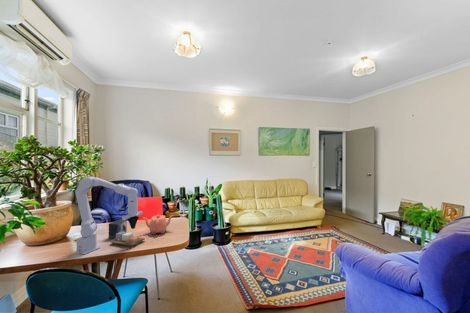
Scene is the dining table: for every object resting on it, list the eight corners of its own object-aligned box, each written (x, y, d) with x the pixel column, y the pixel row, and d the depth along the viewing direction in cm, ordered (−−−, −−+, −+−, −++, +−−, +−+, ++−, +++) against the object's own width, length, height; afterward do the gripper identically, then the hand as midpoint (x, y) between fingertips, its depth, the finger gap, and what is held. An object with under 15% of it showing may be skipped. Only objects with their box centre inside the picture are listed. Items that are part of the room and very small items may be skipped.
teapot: (142, 233, 152) (142, 216, 152) (161, 227, 166) (161, 211, 166) (155, 237, 144) (155, 219, 144) (174, 230, 158) (174, 213, 158)
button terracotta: (133, 245, 131) (133, 239, 131) (128, 244, 132) (128, 238, 132) (139, 242, 135) (139, 237, 135) (134, 241, 136) (134, 236, 136)
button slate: (120, 239, 135) (120, 234, 135) (115, 239, 136) (115, 233, 136) (126, 237, 139) (126, 232, 139) (121, 236, 140) (121, 231, 140)
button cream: (127, 241, 133) (127, 235, 133) (122, 240, 134) (121, 234, 134) (132, 238, 137) (132, 233, 137) (127, 237, 138) (127, 232, 138)
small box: (116, 239, 142) (116, 224, 142) (108, 238, 144) (107, 223, 144) (127, 233, 153) (127, 219, 153) (119, 233, 154) (119, 219, 154)
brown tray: (130, 248, 127) (130, 244, 127) (109, 244, 134) (109, 241, 134) (144, 241, 137) (144, 238, 137) (124, 238, 144) (124, 234, 144)
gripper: (127, 210, 126) (128, 232, 126) (146, 205, 140) (146, 225, 140) (119, 209, 129) (119, 231, 129) (138, 204, 142) (138, 224, 142)
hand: (133, 228), depth 135 cm, fingers closed
